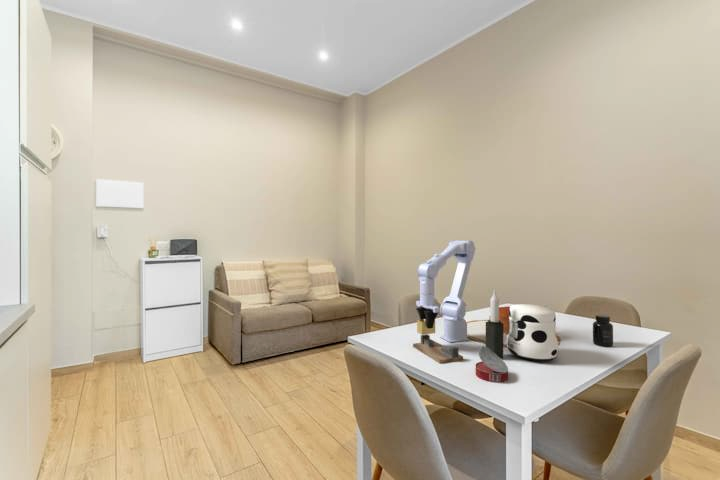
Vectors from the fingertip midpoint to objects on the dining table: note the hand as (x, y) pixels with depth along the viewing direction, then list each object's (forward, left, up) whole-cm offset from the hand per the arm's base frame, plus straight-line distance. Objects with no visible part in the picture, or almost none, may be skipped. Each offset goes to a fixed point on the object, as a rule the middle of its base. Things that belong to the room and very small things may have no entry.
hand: (427, 326), depth 134 cm
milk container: (-32, +22, -9) cm, 40 cm away
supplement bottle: (-70, +23, -9) cm, 74 cm away
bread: (-51, -2, -9) cm, 52 cm away
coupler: (0, 0, -2) cm, 2 cm away
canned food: (-5, +31, -9) cm, 33 cm away
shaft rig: (0, +7, -8) cm, 11 cm away
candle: (-18, +18, -9) cm, 27 cm away
